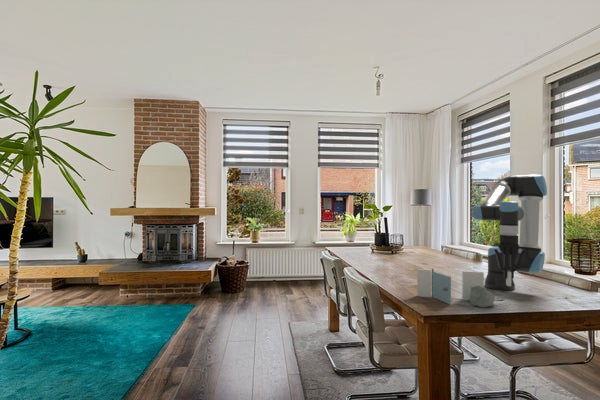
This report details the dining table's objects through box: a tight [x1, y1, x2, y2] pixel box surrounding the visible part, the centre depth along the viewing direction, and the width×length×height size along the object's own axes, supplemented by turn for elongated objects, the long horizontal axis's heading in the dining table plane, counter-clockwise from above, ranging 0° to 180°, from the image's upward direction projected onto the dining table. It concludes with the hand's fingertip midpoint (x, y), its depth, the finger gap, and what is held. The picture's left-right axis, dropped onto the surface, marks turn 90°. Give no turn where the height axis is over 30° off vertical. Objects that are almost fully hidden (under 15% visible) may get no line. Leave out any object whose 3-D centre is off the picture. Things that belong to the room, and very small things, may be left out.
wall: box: [416, 268, 485, 301], centre depth 176 cm, size 31×1×14 cm, turn 74°
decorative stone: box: [469, 286, 496, 308], centre depth 165 cm, size 13×11×10 cm
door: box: [432, 270, 452, 305], centre depth 171 cm, size 12×3×13 cm, turn 14°
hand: (508, 285), depth 161 cm, fingers closed
